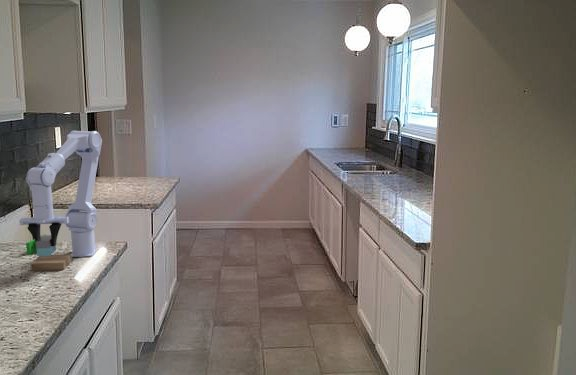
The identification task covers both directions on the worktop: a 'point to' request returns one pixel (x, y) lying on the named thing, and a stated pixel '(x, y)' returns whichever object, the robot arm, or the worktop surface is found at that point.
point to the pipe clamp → (31, 247)
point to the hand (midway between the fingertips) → (46, 245)
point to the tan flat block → (51, 262)
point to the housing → (45, 246)
